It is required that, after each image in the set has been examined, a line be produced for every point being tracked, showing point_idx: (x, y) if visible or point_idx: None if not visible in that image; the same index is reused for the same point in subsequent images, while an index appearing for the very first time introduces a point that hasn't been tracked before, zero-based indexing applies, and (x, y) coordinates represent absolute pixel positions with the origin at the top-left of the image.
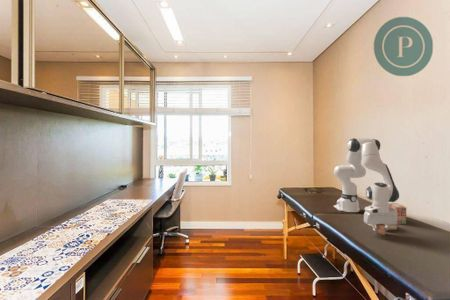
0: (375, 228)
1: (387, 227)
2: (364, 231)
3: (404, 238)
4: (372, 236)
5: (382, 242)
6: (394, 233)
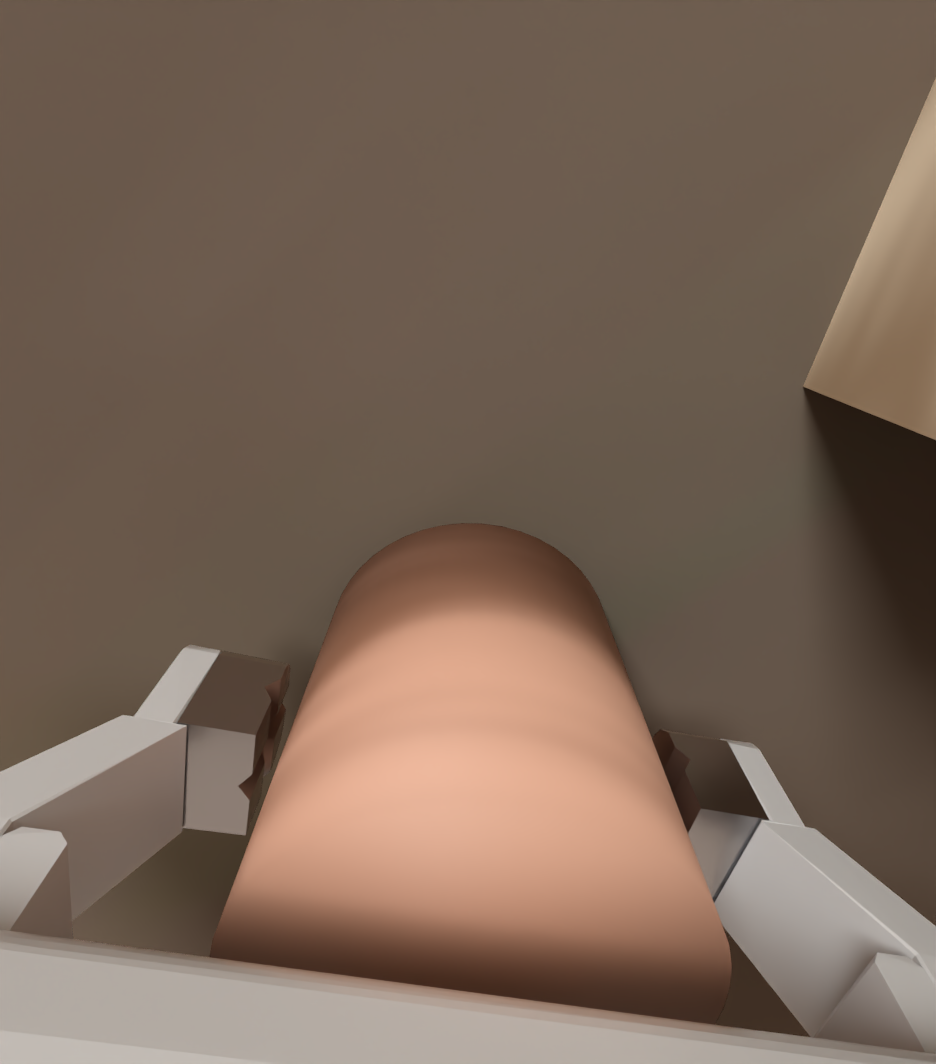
0: (165, 818)
1: (741, 929)
2: (54, 299)
3: (731, 984)
4: (39, 733)
5: None
6: (904, 746)
